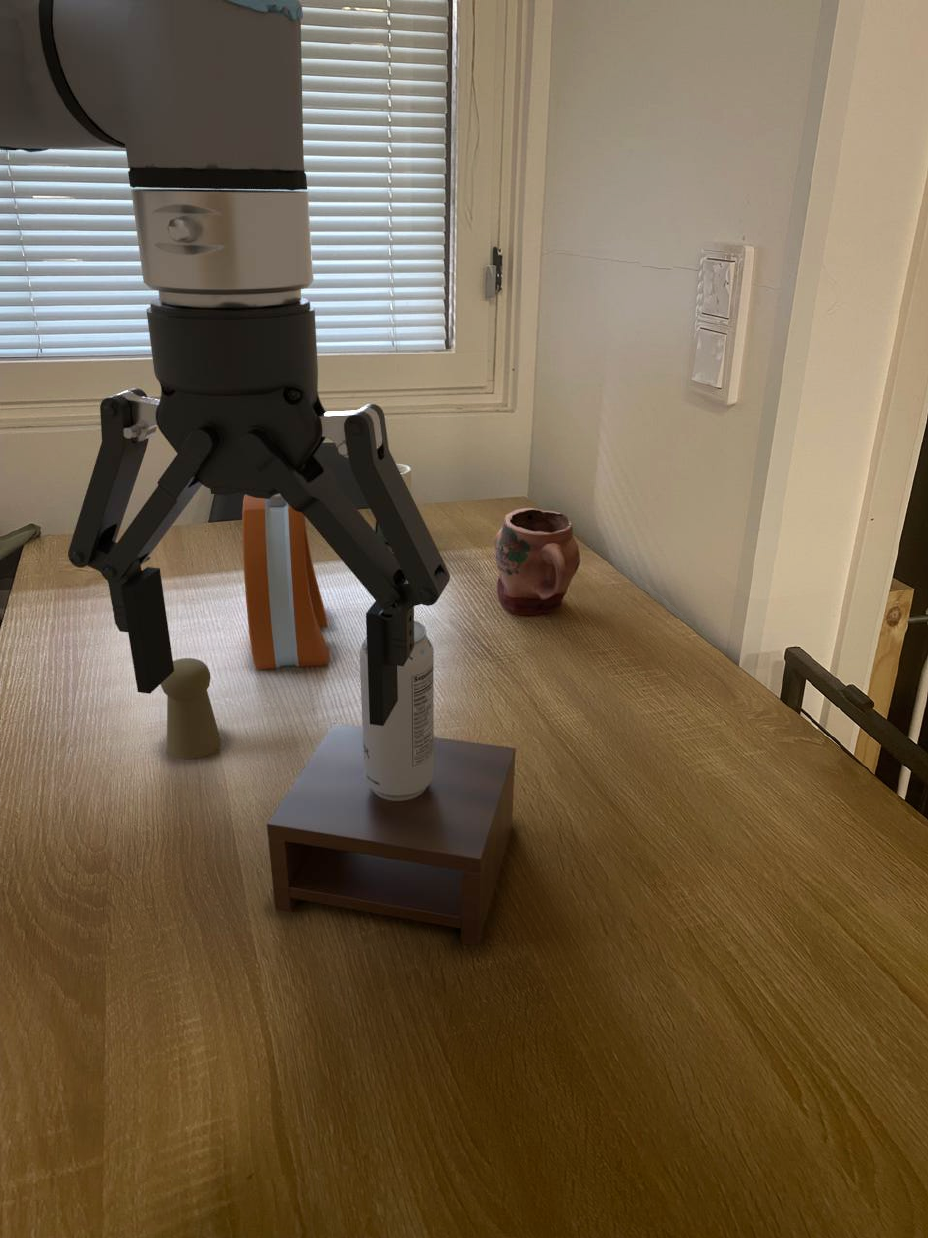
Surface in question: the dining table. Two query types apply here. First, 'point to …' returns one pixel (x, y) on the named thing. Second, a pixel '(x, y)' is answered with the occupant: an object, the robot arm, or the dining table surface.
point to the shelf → (396, 835)
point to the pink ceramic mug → (535, 560)
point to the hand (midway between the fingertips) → (267, 697)
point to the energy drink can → (402, 727)
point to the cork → (190, 711)
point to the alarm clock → (281, 587)
